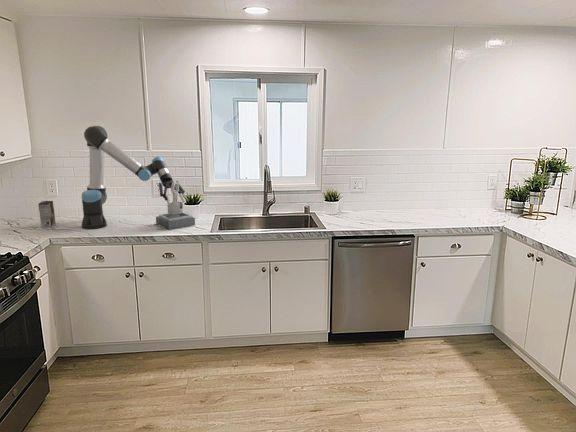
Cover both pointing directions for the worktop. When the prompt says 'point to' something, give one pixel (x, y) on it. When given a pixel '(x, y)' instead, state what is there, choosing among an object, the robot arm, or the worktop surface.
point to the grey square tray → (175, 220)
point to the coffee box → (47, 214)
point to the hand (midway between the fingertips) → (176, 202)
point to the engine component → (175, 201)
